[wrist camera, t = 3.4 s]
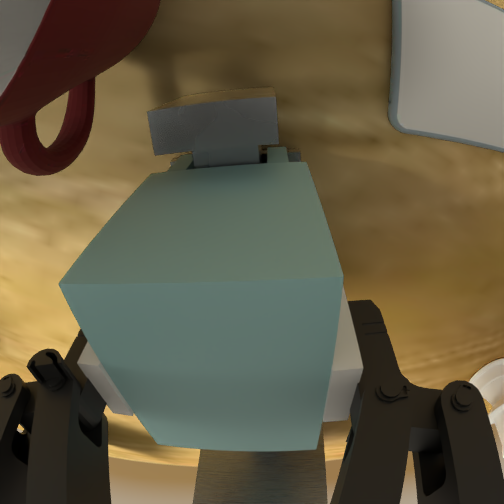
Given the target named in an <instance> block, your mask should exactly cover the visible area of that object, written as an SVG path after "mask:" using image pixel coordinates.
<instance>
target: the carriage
mask: <svg viewBox="0 0 504 504" xmlns="http://www.w3.org/2000/svg"><path fill="white" fill-rule="evenodd" d="M343 280H344V275H343V272H342V269H341V265H340V262H339V259H338V255H337V252H336V249H335V245H334V242H333V239H332V236H331V233H330V230H329V226H328V223H327V220H326V217H325V214H324V211H323V208H322V205H321V202H320V199H319V196H318V193H317V190H316V187H315V185H314V182H313V179H312V176H311V173H310V170H309V168H308V165H307V162H289V160H288V155H287V150H286V147H268V149H267V163H264V164H248V165H234V166H221V167H210V168H199V169H195V167H194V161H193V154H185V155H181V156H180V157H179V158H178V159H177V160H176V162H175V163H174V164H173V165H172V166H171V167H170V168H169V170H168V171H167V172H162V173H154V174H150V176H149V177H148V178H147V179H146V180H145V181H144V182H143V183H142V184H141V185H140V186H139V187H138V188H137V189H136V190H135V192H134V193H133V194H132V195H131V196H130V197H129V198H128V199H127V200H126V202H125V203H124V204H123V205H122V206H121V207H120V208H119V209H118V211H117V212H116V213H115V214H114V215H113V216H112V217H111V219H110V220H109V221H108V222H107V223H106V224H105V226H104V227H103V228H102V229H101V230H100V232H99V233H98V234H97V235H96V236H95V238H94V239H93V240H92V241H91V242H90V244H89V245H88V246H87V247H86V249H85V250H84V251H83V252H82V254H81V255H80V256H79V257H78V259H77V260H76V261H75V263H74V264H73V265H72V267H71V268H70V269H69V270H68V272H67V273H66V274H65V276H64V277H63V278H62V280H61V281H60V282H59V286H60V288H61V290H62V293H63V295H64V297H65V299H66V301H67V303H68V305H69V307H70V309H71V311H72V313H73V314H74V316H75V318H76V320H77V322H78V324H79V326H80V328H81V329H82V331H83V333H84V335H85V337H86V338H87V340H88V342H89V344H90V345H91V347H92V349H93V351H94V352H95V354H96V356H97V357H98V359H99V361H100V362H101V364H102V365H103V367H104V368H105V370H106V372H107V373H108V375H109V376H110V378H111V379H112V381H113V383H114V384H115V386H116V387H117V389H118V390H119V392H120V393H121V395H122V396H123V397H124V399H125V400H126V402H127V403H128V405H129V406H130V408H131V409H132V410H133V412H134V413H135V415H136V416H137V418H138V419H139V420H140V422H141V423H142V424H143V426H144V427H145V428H146V430H147V431H148V432H149V434H150V435H151V436H152V438H153V439H154V440H155V441H156V443H157V444H159V445H167V446H175V447H184V448H195V449H208V450H225V451H298V450H315V449H317V444H318V440H319V435H320V430H321V425H322V420H323V414H324V408H325V403H326V397H327V392H328V386H329V380H330V374H331V368H332V364H333V358H334V351H335V345H336V338H337V330H338V323H339V315H340V307H341V298H342V289H343Z"/></svg>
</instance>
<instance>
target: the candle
mask: <svg viewBox="0 0 504 504" xmlns="http://www.w3.org/2000/svg"><path fill="white" fill-rule="evenodd" d="M469 383H472V384H473V385H474V386H475V387H477V388H478V389H479V391H480V393H481V395H482V397H483V398H484V399H486V400H487V401H488V402H489V403H490V404H491V405H492V407H493V408H492V409H491V410H490V412H489V413H488V417H489V420H490V424H493V423H495V425H496V428H497V431H498V433H499V437H500V439H501V443H502V456H503V458H504V358H501V359H497V360H495V361H492V362H490V363H489V364H487V365H485V366H484V367H482V368H481V369H480V370H479V371H477V372H476V373H475V374H474V375H473V376H472V378H471V379H470V380H469Z"/></svg>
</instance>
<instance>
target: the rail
mask: <svg viewBox="0 0 504 504" xmlns="http://www.w3.org/2000/svg"><path fill="white" fill-rule="evenodd" d="M147 114H148V121H149V127H150V132H151V138H152V144H153V149H154V155H155V156H156V155H164V154H171V153H179V152H188V151H192V154H193V161H194V167H195V169H199V168H210V167H221V166H234V165H248V164H264V163H267V150H262V149H261V145H270V144H279V136H278V121H277V106H276V95H275V91H274V87H261V88H247V89H236V90H225V91H216V92H208V93H200V94H193V95H186V96H183V97H180V98H178V99H176V100H173V101H171V102H168V103H166V104H164V105H161V106H159V107H157V108H155V109H152V110H150V111H148V112H147ZM286 150H287V155H288V160H289V162H301V155H300V149H286ZM177 159H178V158H174V159H173V160H172V161H171V162H170V163H171V166H172V165H173V164H174V163H175V162H176V160H177Z"/></svg>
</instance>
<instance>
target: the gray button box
mask: <svg viewBox="0 0 504 504" xmlns="http://www.w3.org/2000/svg"><path fill="white" fill-rule="evenodd" d="M193 504H327V485H326V469H325V453H324V439H323V427H322V425H321V430H320V435H319V440H318V444H317V449H315V450H298V451H225V450H208V449H201V450H200V457H199V464H198V471H197V478H196V484H195V492H194V499H193Z"/></svg>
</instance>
